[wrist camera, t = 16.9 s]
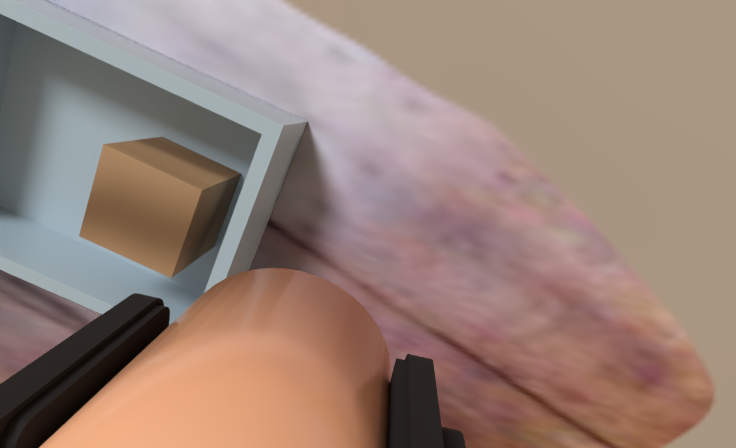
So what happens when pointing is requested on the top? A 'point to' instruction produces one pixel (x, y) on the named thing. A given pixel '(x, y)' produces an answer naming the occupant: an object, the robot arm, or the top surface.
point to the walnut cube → (157, 203)
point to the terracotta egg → (249, 374)
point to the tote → (110, 125)
